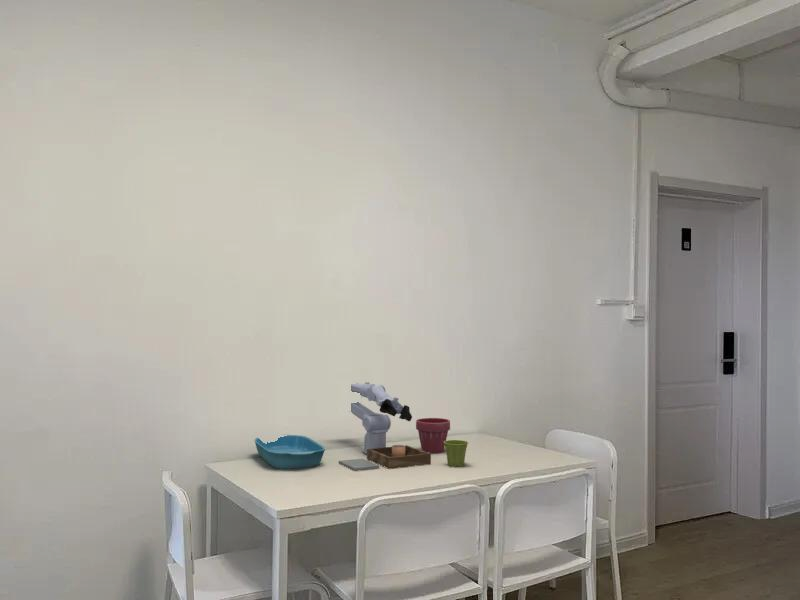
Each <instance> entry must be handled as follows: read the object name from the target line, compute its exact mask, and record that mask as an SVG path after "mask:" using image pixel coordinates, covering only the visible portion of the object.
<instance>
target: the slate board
mask: <svg viewBox="0 0 800 600" xmlns="http://www.w3.org/2000/svg"><path fill="white" fill-rule="evenodd" d="M338 465H341V466H343V465H344V466H343V467H345V466H346V467H345V468H347V467H348V468H347V469H349V468H350V469H349V470H351V469H352V471H353V470H354V471H353V472H359V471H358V470H361V471H368V470H367V469H370V470H376V469H375V468H379V469H380V465H379V464H377V463H374V462H372V461H370V460H367V459H364V458H354V459H343V460H338Z"/></svg>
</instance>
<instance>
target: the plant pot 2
mask: <svg viewBox="0 0 800 600" xmlns="http://www.w3.org/2000/svg"><path fill="white" fill-rule="evenodd" d="M444 444H445V447H444V448H445V452H446V460H447V465H448V464H449V465H448V466H449V467H458V466H459V467H462V466H464V465H465V459H466V452H467V448H468V445H469V441H467V440H461V439H449V440H447V439H446V441H444Z"/></svg>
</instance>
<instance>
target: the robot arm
mask: <svg viewBox="0 0 800 600" xmlns="http://www.w3.org/2000/svg"><path fill="white" fill-rule="evenodd" d="M355 383H356V384H351V391H352V392H357V393H360V395H361V397H363V398H366V399H367V400H368V401H369V402H375V404H376V406H378V407H379V412H380V413H379V412H374V411H373V410H372V409H370V408H368V407H367V406H365V405H363V403H361V402H360V403H359V402H357V403H351V412H352V413H351V412H350V413H351V414H352V415H354V417H357V418H358V419H359V420H361V422H362V423H361V424H362V427H363V428H364V430H365V432H366V433H365V435H364V437H363V438H364V442H363V443H364V448H363V449H364V450H362V451H361V453H363V454H366V455H367V449H373V448H384V447H387V433H388V432H389V430H390V428H391V425H392V421H391V420H392V419H391V418H390V416H392V417H396V415H399V417H398V418H399V419H400V420H405V421H407V422H411V421H412V418H413V415H412V413H411V411H410V410H411V409H410V407H409V406H408V405H406V404H404V405H402V403H400V402H399V398H398V397H396V396H394V397H393V396H391V395H390V394H389V393H387V391H386V387H385V386H383V385H382V384H381V385H380V384H379V385H376V384H374V383H370V382H369V381H368V382H367V381H366V382H365V383H362V384H361V383H360V382H355ZM359 383H360V384H359Z"/></svg>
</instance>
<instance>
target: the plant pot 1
mask: <svg viewBox="0 0 800 600" xmlns="http://www.w3.org/2000/svg"><path fill="white" fill-rule="evenodd" d="M415 429H416V430H417V433H418V437H419V438H418V439H419V442H420V443H419V444H420V447H421V450H422V451H425V452H430V454H439V452H440V453H443V452H444V451H445V448H446V447H445V444H444V441H447V439H448V438H447V437H448V432H449V431H451V420H450V419H447V418H443V417H442V418H440V417H424V418H417V419H416V420H415Z"/></svg>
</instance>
